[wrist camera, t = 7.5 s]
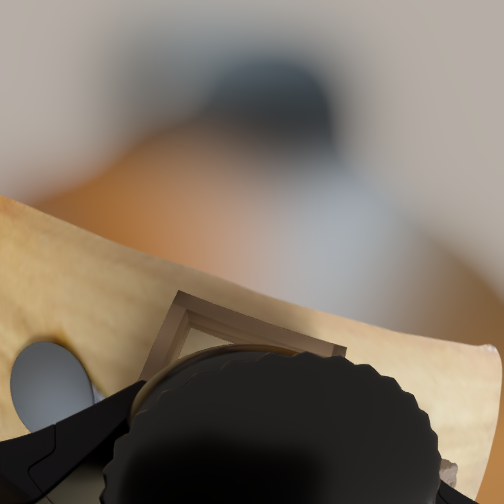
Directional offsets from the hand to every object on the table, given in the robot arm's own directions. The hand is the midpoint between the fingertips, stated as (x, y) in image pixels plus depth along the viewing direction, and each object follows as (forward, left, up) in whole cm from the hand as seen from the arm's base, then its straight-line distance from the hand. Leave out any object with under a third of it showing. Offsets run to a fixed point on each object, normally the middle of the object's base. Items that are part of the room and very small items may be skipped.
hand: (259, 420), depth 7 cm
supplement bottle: (-1, -1, -7) cm, 7 cm away
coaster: (-13, +8, -13) cm, 20 cm away
